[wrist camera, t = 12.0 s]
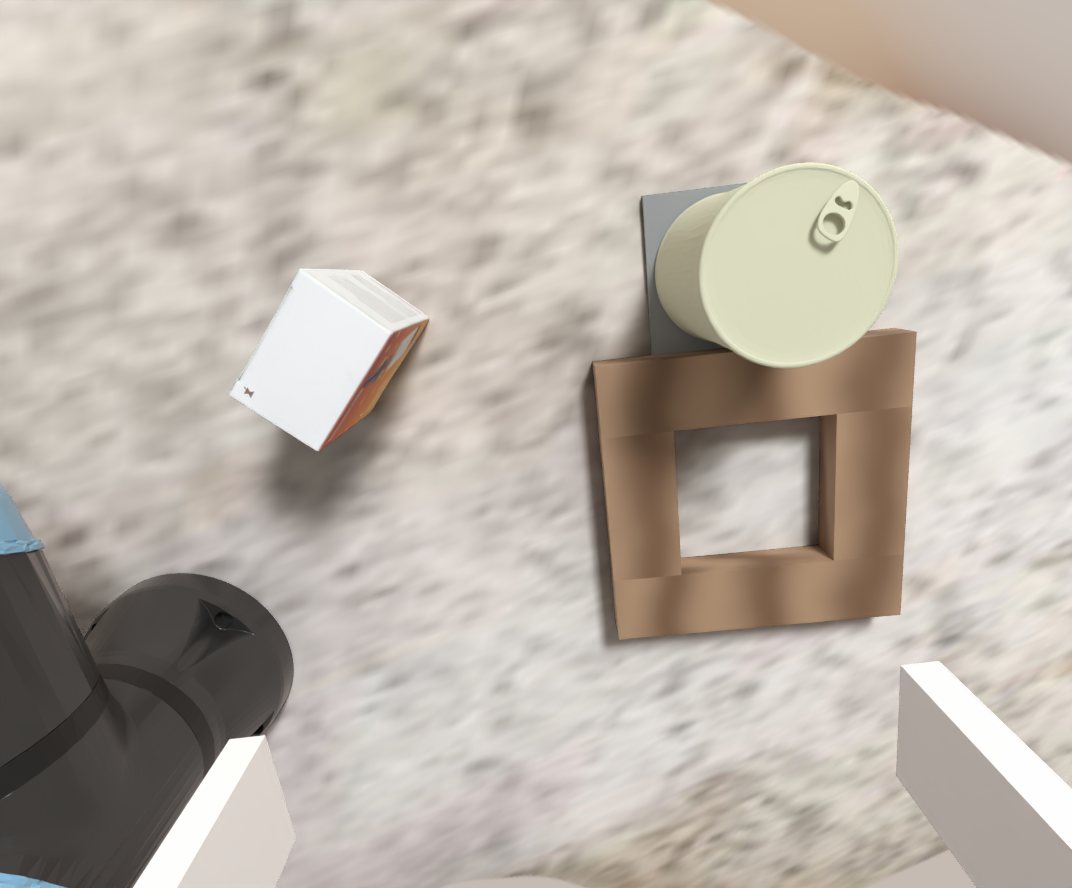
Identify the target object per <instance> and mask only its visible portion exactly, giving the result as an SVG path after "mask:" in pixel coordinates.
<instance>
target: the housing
mask: <svg viewBox="0 0 1072 888" xmlns="http://www.w3.org/2000/svg"><path fill="white" fill-rule="evenodd" d="M916 333H917V332H914V331H909V330H903V329H897V328H890V329H881V330H872V331H867V332H866V333H865V334H864V335H863V336H862V337H861V338H860V339H859V340H858V341H857V342H856V343H854V344H853V345H852V346H850V347H849V348H848V349H846V350H845V351H843V352H842V353H840V354H838V355H836V356H834V357H832V358H830V359H828V360H826V361H823V362H820V363H817V364H814V365H810V366H806V367H799V368H773V367H767V366H763V365H759V364H756V363H754V362H751V361H749V360H747V359H745V358H743V357H741V356H739V355H738V354H736V353H735V352H733V351H732V350H730V349H728V348H719V349H710V350H701V351H692V352H683V353H674V354H665V355H656V356H652V355H647V356H638V357H629V358H620V359H611V360H602V361H593V362H592V364H593V376H594V387H595V398H596V409H597V420H598V432H599V443H600V454H601V465H602V477H603V488H604V499H605V510H606V522H607V533H608V544H609V555H610V566H611V578H612V589H613V600H614V611H615V621H616V627H617V632H618V637H619V640H620V639H632V638H643V637H654V636H665V635H677V634H688V633H699V632H710V631H722V630H733V629H744V628H756V627H767V626H778V625H789V624H801V623H812V622H823V621H834V620H846V619H857V618H868V617H880V616H891V615H900V611H901V593H902V576H903V558H904V541H905V524H906V506H907V489H908V472H909V454H910V437H911V420H912V402H913V385H914V367H915V350H916ZM814 416H820V462H819V529H818V545H813V546H802V547H792V548H781V549H770V550H760V551H749V552H739V553H728V554H718V555H707V556H697V557H686V558H681V556H680V537H679V519H678V500H677V481H676V463H675V444H674V431H681V430H690V429H700V428H709V427H719V426H728V425H738V424H747V423H757V422H766V421H776V420H786V419H795V418H805V417H814Z"/></svg>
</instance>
